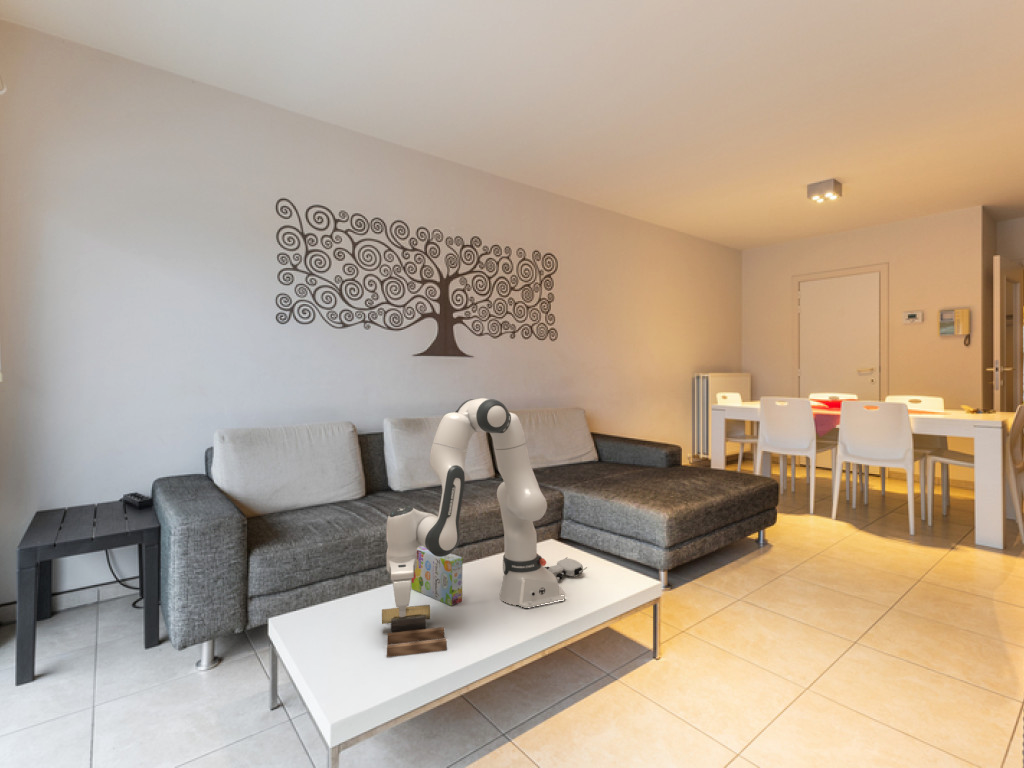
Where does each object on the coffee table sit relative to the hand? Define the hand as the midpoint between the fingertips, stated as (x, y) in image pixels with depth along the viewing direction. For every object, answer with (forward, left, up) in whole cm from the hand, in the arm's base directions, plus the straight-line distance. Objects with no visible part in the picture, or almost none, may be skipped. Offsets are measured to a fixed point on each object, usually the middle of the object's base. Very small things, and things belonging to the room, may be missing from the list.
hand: (402, 608), depth 151 cm
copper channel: (-4, +10, -6) cm, 12 cm away
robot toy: (-60, -28, -7) cm, 67 cm away
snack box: (-12, -22, -7) cm, 26 cm away
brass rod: (-1, 0, -4) cm, 4 cm away
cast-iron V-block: (-2, 0, -6) cm, 7 cm away
